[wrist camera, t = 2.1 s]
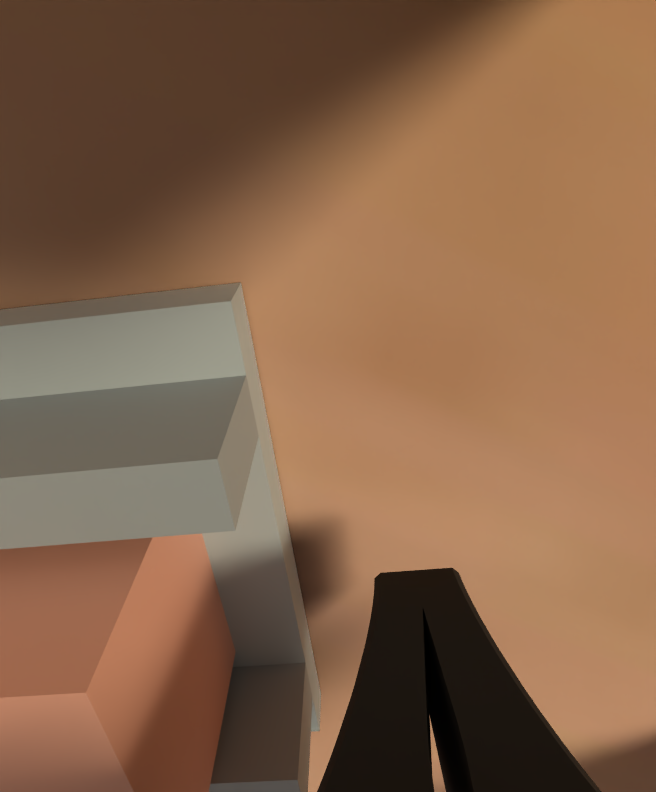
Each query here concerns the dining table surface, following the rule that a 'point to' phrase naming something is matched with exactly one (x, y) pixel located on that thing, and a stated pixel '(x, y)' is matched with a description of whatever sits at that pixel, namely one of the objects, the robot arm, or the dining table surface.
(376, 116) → the dining table surface
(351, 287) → the dining table surface
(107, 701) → the block
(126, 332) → the chute
